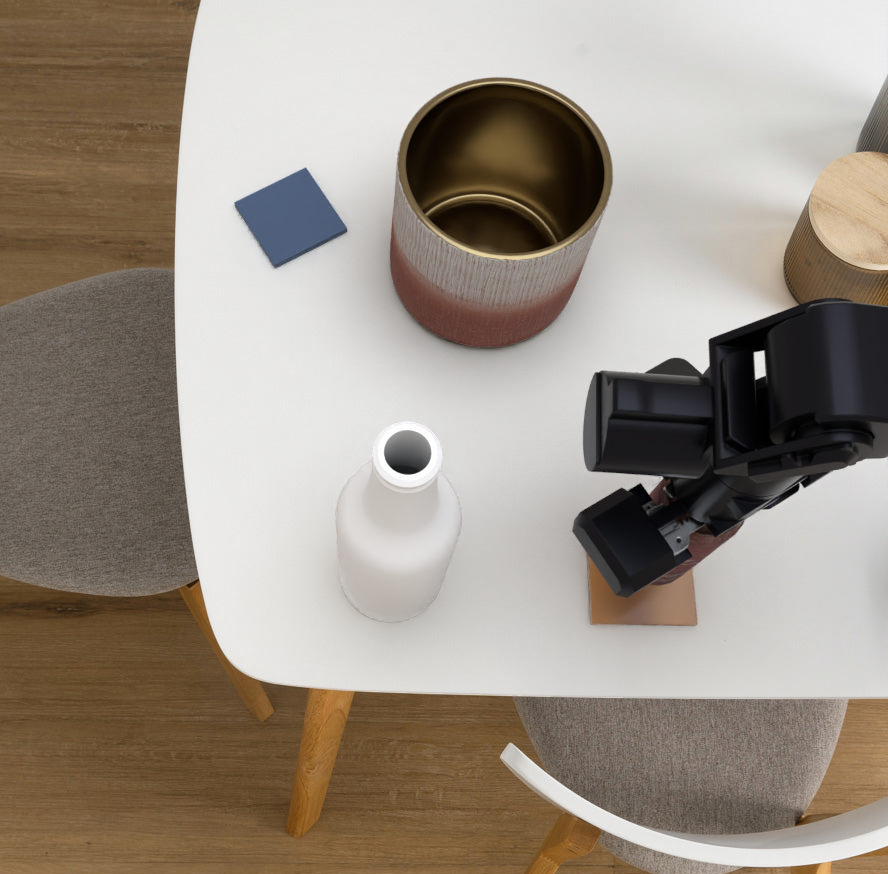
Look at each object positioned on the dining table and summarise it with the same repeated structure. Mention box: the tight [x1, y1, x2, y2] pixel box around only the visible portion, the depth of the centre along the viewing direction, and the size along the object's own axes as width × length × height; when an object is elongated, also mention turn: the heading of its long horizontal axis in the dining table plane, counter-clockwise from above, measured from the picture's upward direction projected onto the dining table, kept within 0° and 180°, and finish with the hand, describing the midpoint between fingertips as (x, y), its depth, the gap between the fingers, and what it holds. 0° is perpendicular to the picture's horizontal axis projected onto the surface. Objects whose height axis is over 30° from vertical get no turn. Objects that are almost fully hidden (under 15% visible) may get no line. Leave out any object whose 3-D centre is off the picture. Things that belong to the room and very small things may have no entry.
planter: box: [389, 76, 614, 348], centre depth 85 cm, size 18×18×16 cm
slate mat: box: [233, 166, 348, 269], centre depth 93 cm, size 8×8×1 cm
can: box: [648, 477, 746, 586], centre depth 72 cm, size 6×6×14 cm
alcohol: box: [334, 421, 463, 623], centre depth 69 cm, size 9×9×30 cm
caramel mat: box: [586, 553, 699, 627], centre depth 83 cm, size 9×7×1 cm
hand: (674, 524), depth 72 cm, fingers closed on can, 5 cm apart
